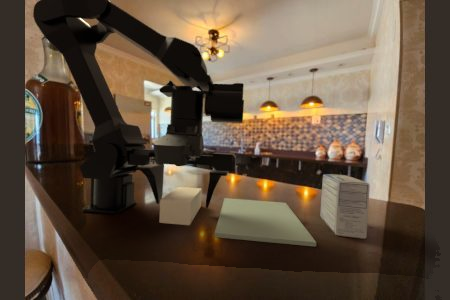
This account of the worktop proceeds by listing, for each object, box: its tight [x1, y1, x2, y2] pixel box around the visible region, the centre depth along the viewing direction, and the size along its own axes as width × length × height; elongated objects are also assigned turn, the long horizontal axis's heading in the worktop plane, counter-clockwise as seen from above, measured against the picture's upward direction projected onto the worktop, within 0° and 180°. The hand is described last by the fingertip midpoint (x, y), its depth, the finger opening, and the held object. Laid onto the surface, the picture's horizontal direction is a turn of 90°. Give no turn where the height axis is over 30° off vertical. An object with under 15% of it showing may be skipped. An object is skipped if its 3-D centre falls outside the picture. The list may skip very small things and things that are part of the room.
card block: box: [158, 186, 203, 226], centre depth 34 cm, size 5×9×4 cm, turn 176°
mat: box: [214, 197, 317, 247], centre depth 34 cm, size 14×17×1 cm
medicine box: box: [320, 173, 370, 240], centre depth 32 cm, size 8×4×9 cm, turn 168°
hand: (182, 205), depth 34 cm, fingers open, 9 cm apart
